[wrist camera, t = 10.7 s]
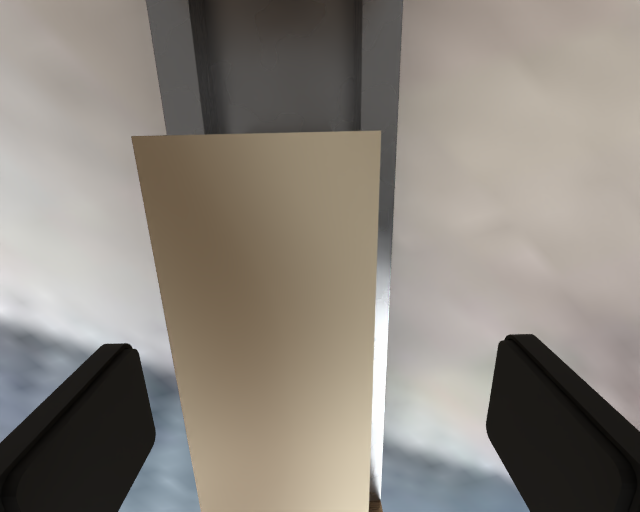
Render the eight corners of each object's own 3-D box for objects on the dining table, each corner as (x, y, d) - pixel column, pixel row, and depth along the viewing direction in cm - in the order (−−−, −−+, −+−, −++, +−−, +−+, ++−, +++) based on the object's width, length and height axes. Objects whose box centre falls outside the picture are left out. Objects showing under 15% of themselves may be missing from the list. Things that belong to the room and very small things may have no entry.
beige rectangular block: (334, 132, 14) (384, 130, 5) (336, 389, 17) (366, 632, 9) (240, 134, 13) (127, 136, 5) (263, 393, 17) (223, 642, 9)
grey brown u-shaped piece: (388, -76, 12) (718, -894, 2) (371, 477, 20) (429, 784, 11) (161, -74, 12) (-465, -973, 2) (237, 485, 20) (176, 805, 10)
